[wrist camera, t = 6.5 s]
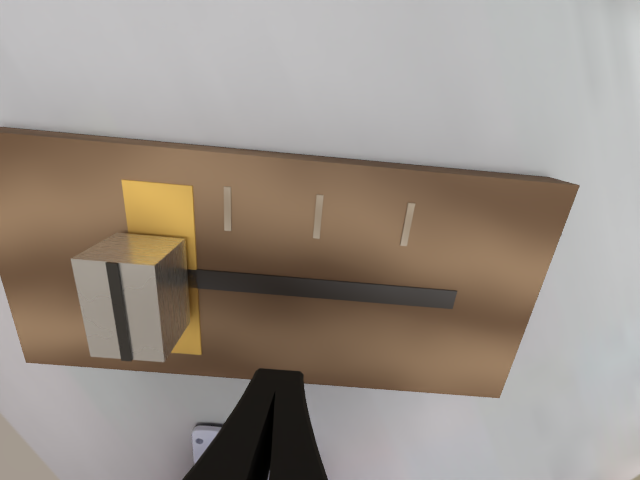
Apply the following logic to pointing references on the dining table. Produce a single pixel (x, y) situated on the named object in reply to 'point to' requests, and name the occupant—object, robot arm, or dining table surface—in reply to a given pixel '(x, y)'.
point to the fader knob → (133, 296)
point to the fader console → (287, 258)
